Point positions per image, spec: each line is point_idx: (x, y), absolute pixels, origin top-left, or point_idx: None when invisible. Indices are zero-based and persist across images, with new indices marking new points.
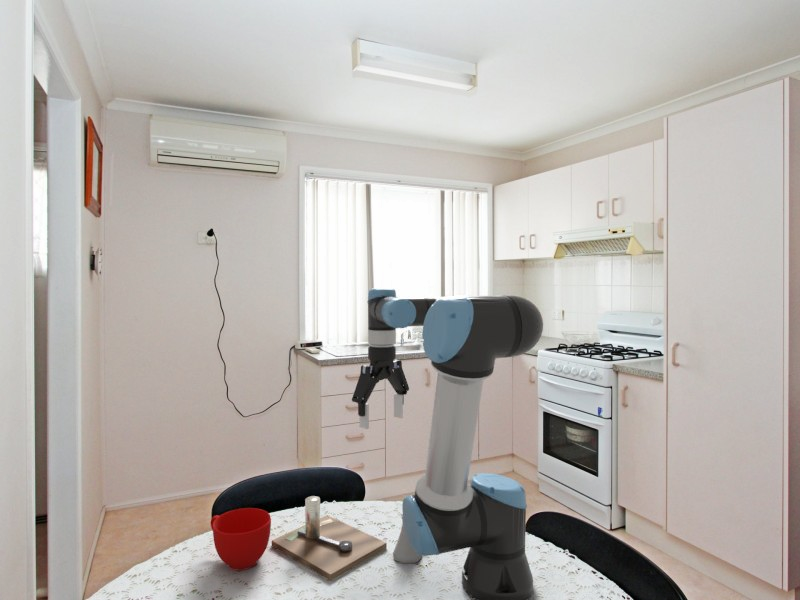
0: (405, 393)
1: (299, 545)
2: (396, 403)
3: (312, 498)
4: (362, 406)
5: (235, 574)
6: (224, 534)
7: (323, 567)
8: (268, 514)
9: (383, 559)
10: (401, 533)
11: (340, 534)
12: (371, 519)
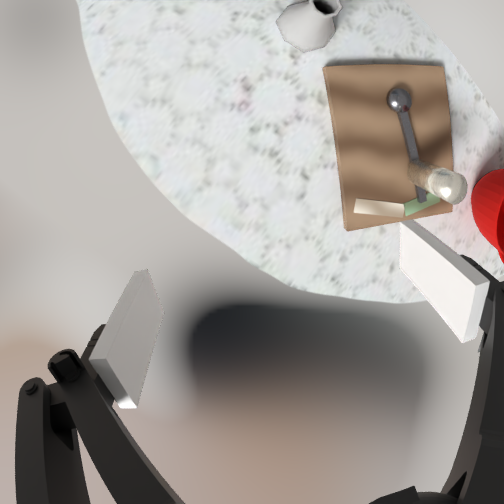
0: (66, 355)
1: None
2: (140, 347)
3: (454, 192)
4: (496, 282)
5: None
6: None
7: (443, 88)
8: (499, 209)
9: (347, 47)
10: (331, 18)
11: (373, 150)
12: (275, 178)
